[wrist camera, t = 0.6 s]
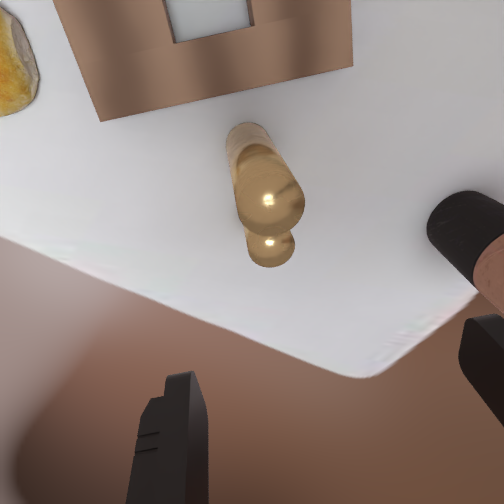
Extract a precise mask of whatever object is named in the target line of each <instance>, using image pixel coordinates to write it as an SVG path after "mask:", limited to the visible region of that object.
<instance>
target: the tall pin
mask: <svg viewBox="0 0 504 504" xmlns="http://www.w3.org/2000/svg"><path fill="white" fill-rule="evenodd" d="M226 150H227V156H228V161H229V167H230V172H231V178H232V183H233V189H234V194H235V200H236V205H237V211H238V215H239V218H240V220H241V222H242V224H243V225H244V226H245V227H246V228H247V229H248V230H249V231H251V232H253V233H255V234H257V235H260V236H277V235H281V234H283V233H285V232H287V231H289V230H290V229H292V228H293V227H294V226H295V225H296V224H297V223H298V221H299V220H300V218H301V216H302V214H303V212H304V207H305V198H304V194H303V191H302V189H301V187H300V186H299V184H298V182H297V181H296V179H295V178H294V176H293V174H292V173H291V171H290V170H289V168H288V166H287V165H286V163H285V162H284V160H283V158H282V157H281V155H280V154H279V152H278V150H277V149H276V147H275V146H274V144H273V142H272V141H271V139H270V138H269V136H268V135H267V133H266V131H265V130H264V129H263V128H262V127H261V126H259V125H257V124H255V123H250V122H248V123H242V124H239V125H237V126H236V127H234V128H233V129H232V130H231V131H230V133H229V135H228V137H227V140H226Z"/></svg>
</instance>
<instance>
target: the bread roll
mask: <svg viewBox="0 0 504 504" xmlns="http://www.w3.org/2000/svg"><path fill="white" fill-rule="evenodd" d="M38 80H39V76H38V71H37V68H36V64H35V60H34V56H33V53H32V50H31V48H30V45H29V42H28V40H27V38H26V36H25V33H24V31H23V29H22V27H21V25H20V24H19V22H18V21H17V20H16V18H15V17H13V16H12V15H10V14H9V13H7V12H6V11H4V10H3V9H2V8H1V7H0V116H6V115H9V114H13V113H16V112H18V111H20V110H22V109H23V108H25V107H26V106H27V105H28V104H29V103H30V102H31V101H32V100H33V99H34V97H35V94H36V90H37V84H38Z"/></svg>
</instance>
